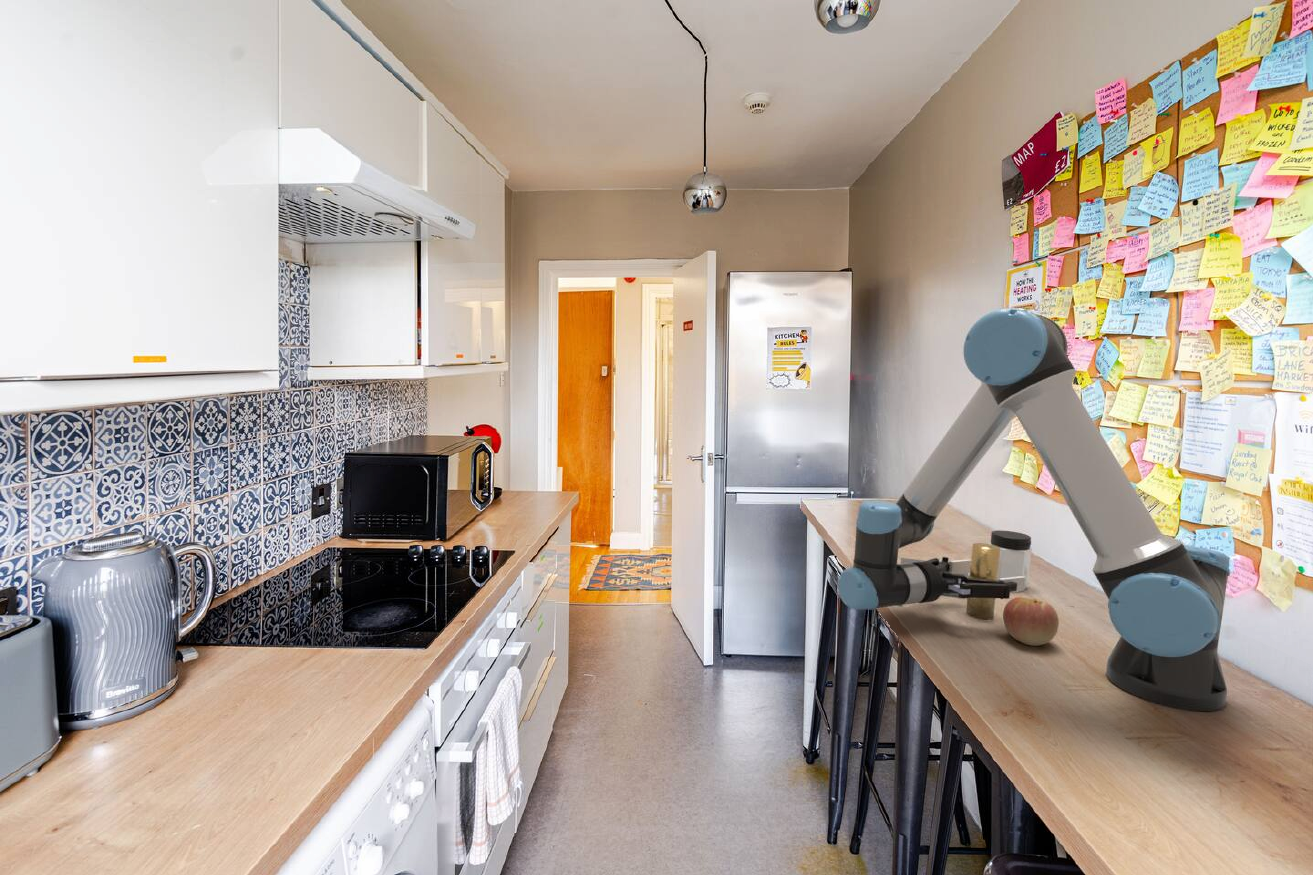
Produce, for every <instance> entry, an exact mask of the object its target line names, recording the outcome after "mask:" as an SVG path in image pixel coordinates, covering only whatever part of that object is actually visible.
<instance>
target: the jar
mask: <svg viewBox="0 0 1313 875" xmlns="http://www.w3.org/2000/svg"><path fill="white" fill-rule="evenodd" d="M990 534H991V535H990V542H989V543H988V544H991V545H995V546H998V547H1000V548H1001V549H1000V558H999V568H998V578H997V581H998V579H999V578H1009V577H1018V576H1024V577H1026V581H1025V589H1027V588H1028V586H1029V585H1028V584H1029V576H1030V569H1031V568H1030V567H1031V560H1032V559H1031V558H1032V548H1031V545H1032V537H1031V536H1030V535H1028V534H1025V533H1022V532H1018V531H1010V530H999V529H998V530H993V531H991V533H990Z"/></svg>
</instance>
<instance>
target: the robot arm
mask: <svg viewBox="0 0 1313 875" xmlns="http://www.w3.org/2000/svg"><path fill="white" fill-rule="evenodd" d="M1068 346H1069V345H1068V341H1067V336H1066V334H1065V333H1064V330H1063V329H1062V328H1061V327H1060V326H1059V324H1058V323H1056V322H1055V321H1054V320H1052V319H1050V318H1048V317H1046V316H1043V315H1040V314H1036V313H1034V312H1032V311H1030V310H1028V309H1024V308H1020V307H1009V308H1002V309H1001V308H1000V309H997V310H994V311H991V312H989V313H986V314H984V315H983V316H982V317H981V318H979V319H978V320H976V322H975V323H974V324H973V325H972V326H971V327H970V330H969V331H968V333H967V334H966V336H965V341H964V343H963V352H962V353H963V360H964V363H965V365H966V367H967V369H968V371H970V373H971V374H972V375H973V376H974V378H976V379H977V380H979V382H980V383H981V384H980V386H979V387H978V389H977V390H976V391H975V393H974V394H973V395H972V397H971V399H970V400H969V401H968V403H967V404H966V405H965V406H964V408H963V410H962V411H961V413H959V415H958V417H957V418H956V419H955V421H954V422H953V423H952V424H951V427H950V428H949V429H948V431H947V432H946V433H945V435H943V437H942V438H941V440H940V442H939V443H938V444H937V446H936V447H935V449H934V450H933V451H932V453H930V455H929V457H928V458H927V460H926V461H925V462H924V464H923V465H922V466H921V468H920V469H919V470H918V472H917V473H916V475H915V476H914V478H912V480H911V482H910V483H909V484H908V486H907V487H906V489H905V490H904V491H903V493H902V495H901V496H900V497H899V499H898V500H897V502H896V503H894V502H890V501H883V500H866V501H863V502H861V503H860V504H859V506H858V512H857V517H856V520H855V525H856V526H855V527H856V529H855V542H854V543H855V545H854V558H853V562H852V567H849V568H846V569H844V570H843V571H841V573H840V576H839V577H838V579H837V591H838V594H839V597H840V600H841V601H842V602H843V603H844V605H845V606H847V607H848V608H849V609H853V610H854V611H855V610H856V611H858V610H869V611H870V610H872V611H873V610H876V609H883V608H887V607H895V606H897V607H899V608H902V607H904V605H905V606H906V605H913V604H923V603H924V604H925V603H932V602H935V601H937V600H938V599H939V598H941V596H942V594H943V593H947V594H950V593H959V597H958V598H959V599H967V598H995V599H1000V600H1003V599H1007V600H1008V599H1010V596H1011V593H1018V592H1019V591H1020V592H1024V591H1025V581H1026V577H1024V576H1018V577H1009V578H999V579H998V581H997V580H987V579H977V578H967V577H966V576H965V575H962V574H965V573H968V574H970V566H971V558H970V559H959V560H950V558H949V557H946V556H942V557H941V558H942V559H941V561H940V558H937V557H934V558H931V559H928V560H924V561H925V562H916V563H902V564H900V563H898V557H899V556H898V555H899V549H901V548H903V547H905V546H909V545H911V544H914V543H918V542H921V541H923V540H924V539H926V537H928V536H929V535H930V534H931V533H932V531H933V529H934V526H935V521H936V519H938V517H939V515H940V514H941V512H942V511H943V510H944V508H945V507H946V506H947V505H948V503H950V501H951V499H952V498H953V497H954V495H955V494H956V493H957V491H958V490H959V489H960V487H961V486H962V485H963V484H964V483H965V482H966V480H967V478H968V477H969V476H970V475H971V473H973V471H974V469H975V468H976V467H977V465H978V464H979V463H980V462H981V460H982V459H983V458H984V457H985V455H986V454H987V453H988V452H989V450H990V449H991V447H992V446H993V445H994V443H995V442H996V441H997V439H998V438H999V437H1000V436H1001V434H1002V433H1003V432H1004V431H1005V430H1006V428H1007V427H1008V426H1009V424H1010V423H1011V421H1012V420H1013V419H1014V418H1015V416H1016V418H1017V419H1018V421H1019V423H1020V425H1021V427H1022V428H1023V430H1024V431H1025V433H1026V435H1027V437H1028V438H1029V440H1030V441H1031V443H1032V446H1033V447H1034V448H1035V450H1036V453H1037V454H1038V456H1039V458H1040V459H1041V461H1042V462H1043V465H1044V466H1045V468H1046V470H1047V472H1048V473H1049V474H1050V477H1051V478H1052V480H1053V482H1054V484H1055V485H1056V488H1058V490H1059V493H1060V494H1061V495H1062V497H1063V499H1064V501H1065V503H1066V504H1067V506H1068V507H1069V509H1070V511H1071V513H1072V515H1073V516H1074V519H1075V520H1076V522H1077V523H1078V525H1079V527H1080V529H1081V530H1082V532H1083V534H1084V536H1085V537H1086V539H1087V540H1088V543H1089V545H1090V546H1091V548H1092V549H1093V551H1094V553H1095V555H1096V560H1095V563H1094V566H1093V568H1092V573H1093V574H1094V576H1095V578H1096V579H1097V581H1098V583H1099V585H1100V587H1101V588H1102V590H1103V592H1104V594H1105V596H1106V597H1107V599H1108V602H1107V607H1108V614H1109V619H1110V621H1111V624H1112V626H1113V627H1114V628H1115V630H1116V632H1117V633H1118V634H1119V636H1120V637H1119V639H1118V641H1117V643H1116V645H1115V646H1114V648H1113V650H1112V651H1111V654H1110V655H1109V656H1108V659H1107V662H1106V670H1105V675H1106V677H1107V679H1109V681H1110V682H1112V684H1114V685H1116V686H1117V687H1118V688H1120V689H1122V690H1123V691H1126V692H1127V693H1130V694H1132V695H1134V696H1137V697H1138V698H1139V697H1140V698H1142V699H1145V700H1147V701H1151V702H1153V703H1157V704H1160V705H1164V706H1168V707H1171V708H1172V707H1173V708H1177V709H1181V710H1189V711H1196V712H1198V711H1199V712H1212V711H1214V712H1215V711H1218V710H1221V709H1223V708H1224V707H1225V706H1226V701H1227V694H1228V690H1227V684H1226V681H1225V677H1224V673H1223V669H1222V665H1221V662H1220V658H1219V654H1218V653H1219V652H1218V650H1219V641H1220V640H1219V639H1220V636H1221V628H1222V619H1223V612H1224V605H1225V598H1226V591H1227V586H1228V585H1227V584H1228V580H1229V579H1228V578H1229V577H1230V575H1231V570H1230V560H1229V557H1228V556H1227V554H1225V553H1224V552H1221V551H1218V550H1213V549H1210V548H1204V547H1199V546H1192V545H1188V544H1183V542H1182V541H1181V540H1180V539H1177V538H1174V537H1171V536H1168V535H1166V534H1164V533H1162V532H1161V530H1160V528H1159V527H1158V525H1157V524H1156V522H1155V520H1154V518H1153V516H1152V515H1151V514H1150V511H1148V509H1147V507H1146V506H1145V504H1144V502H1143V501H1142V499H1141V496H1140V495H1139V494H1138V492H1137V491H1136V489H1135V487H1134V486H1133V484H1132V482H1131V481H1130V479H1129V477H1128V476H1127V474H1126V472H1125V471H1124V469H1123V467H1122V466H1121V464H1120V462H1119V461H1118V459H1117V458H1116V456H1115V454H1114V452H1113V451H1112V450H1111V448H1110V446H1109V444H1108V443H1107V441H1106V440H1105V438H1104V436H1103V435H1102V433H1101V432H1100V430H1099V428H1098V427H1097V425H1096V423H1095V422H1094V420H1093V418H1092V417H1091V415H1090V414H1089V412H1088V410H1087V408H1086V407H1085V405H1084V403H1083V402H1082V400H1081V399H1080V397H1079V396H1078V394H1077V392H1076V390H1075V389H1074V387H1073V383H1074V379H1075V377H1076V374H1077V370H1076V368H1075V366H1074V365H1073V363H1072V362H1071V360H1070V358H1069V356H1068V349H1069V348H1068ZM949 560H950V561H949ZM947 571H949V572H947ZM958 578H959V579H961V583H960V586H959V585H958V581H959V580H958Z"/></svg>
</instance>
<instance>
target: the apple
mask: <svg viewBox="0 0 1313 875" xmlns="http://www.w3.org/2000/svg"><path fill="white" fill-rule="evenodd" d="M1003 609H1004V610H1003V611H1002V612H1003V614H1002V620H1003V624H1004V626H1005V629H1006V631H1007V632H1008V633H1009V635H1011V636H1012V637H1013V638H1014V639H1015V640H1016V641H1018V642H1020V643H1022V644H1025V645H1027V646H1037V647H1038V646H1042V645H1046V644H1048V643H1049V642H1051V641H1053V639H1054V638H1055V636H1056V635H1057V632H1058V630H1059V624H1060V622H1059V615H1058V613H1057V611H1056V609H1055V607H1053V606H1052V605H1051V604H1050V603H1049V602H1047V601H1044V600H1041V599H1038V598H1030V597H1021V596H1019V597H1014V598H1011V600H1009V601H1008V602H1007V603H1006V604H1005V607H1004V608H1003Z"/></svg>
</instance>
